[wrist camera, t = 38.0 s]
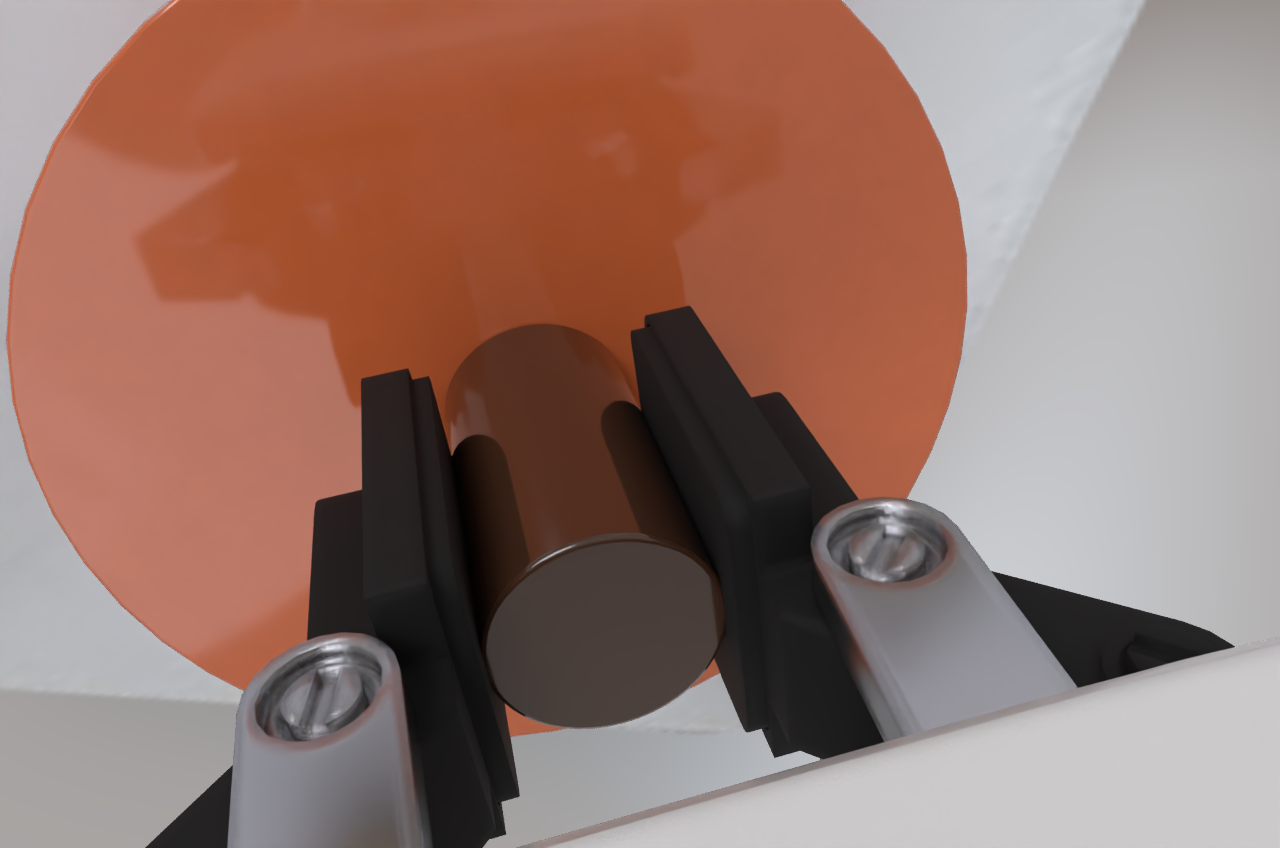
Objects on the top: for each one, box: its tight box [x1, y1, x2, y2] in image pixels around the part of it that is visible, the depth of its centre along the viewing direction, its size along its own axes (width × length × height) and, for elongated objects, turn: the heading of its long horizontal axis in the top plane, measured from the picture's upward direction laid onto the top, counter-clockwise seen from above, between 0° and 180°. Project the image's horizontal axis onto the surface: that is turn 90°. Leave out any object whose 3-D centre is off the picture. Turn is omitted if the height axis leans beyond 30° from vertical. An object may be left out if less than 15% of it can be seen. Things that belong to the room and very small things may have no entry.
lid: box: [6, 0, 967, 737], centre depth 12 cm, size 12×12×6 cm
